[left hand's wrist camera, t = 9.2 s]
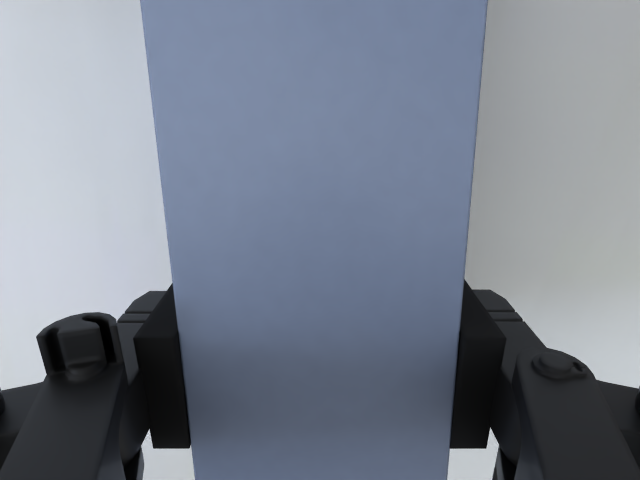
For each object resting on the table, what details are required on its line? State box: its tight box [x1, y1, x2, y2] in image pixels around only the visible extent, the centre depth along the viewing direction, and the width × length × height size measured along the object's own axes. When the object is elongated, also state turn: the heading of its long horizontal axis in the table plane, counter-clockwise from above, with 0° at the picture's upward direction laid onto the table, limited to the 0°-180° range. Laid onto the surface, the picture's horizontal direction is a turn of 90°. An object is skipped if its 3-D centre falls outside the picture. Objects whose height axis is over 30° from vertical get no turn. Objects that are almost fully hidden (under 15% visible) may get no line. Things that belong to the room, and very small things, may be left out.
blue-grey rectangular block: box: [140, 0, 488, 480], centre depth 12 cm, size 16×5×10 cm, turn 1°
